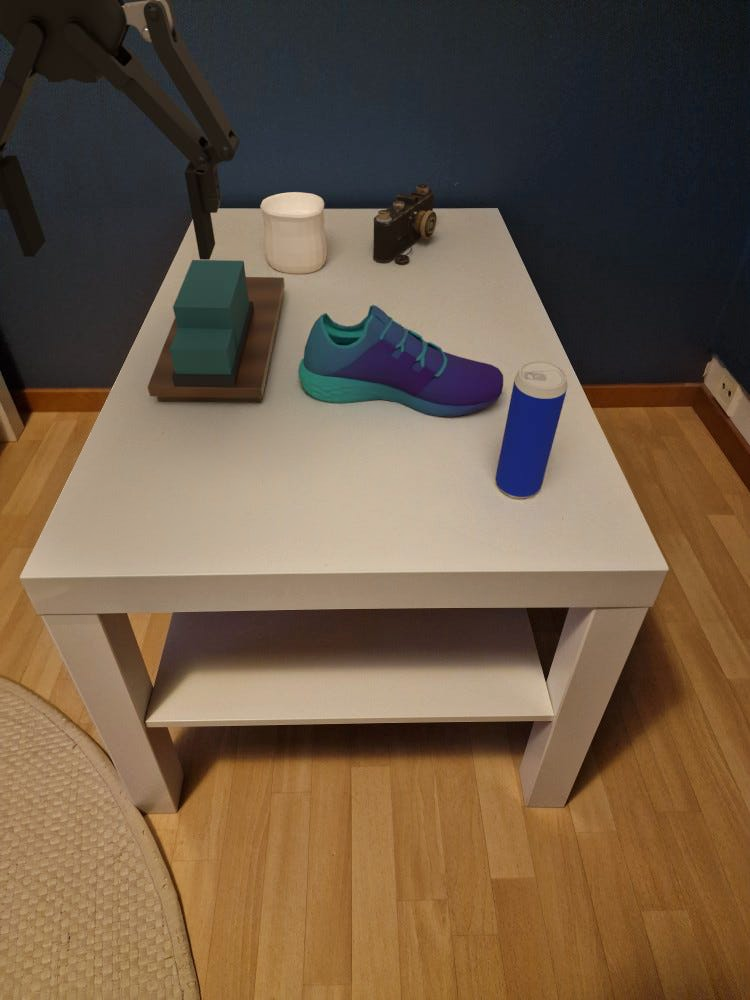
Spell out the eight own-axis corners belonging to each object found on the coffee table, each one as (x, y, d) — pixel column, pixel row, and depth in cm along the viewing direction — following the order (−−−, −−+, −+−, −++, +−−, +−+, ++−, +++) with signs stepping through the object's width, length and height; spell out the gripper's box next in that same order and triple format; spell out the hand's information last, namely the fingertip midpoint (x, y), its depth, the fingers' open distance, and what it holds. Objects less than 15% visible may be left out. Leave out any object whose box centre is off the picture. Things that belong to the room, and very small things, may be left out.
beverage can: (537, 469, 79) (564, 359, 69) (543, 501, 76) (574, 391, 65) (492, 468, 79) (513, 358, 69) (497, 500, 76) (519, 389, 65)
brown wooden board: (194, 293, 106) (191, 275, 104) (285, 295, 106) (284, 277, 104) (152, 406, 87) (147, 386, 84) (263, 407, 87) (261, 388, 84)
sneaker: (498, 425, 85) (513, 340, 76) (292, 401, 88) (284, 317, 79) (501, 377, 92) (515, 295, 83) (310, 356, 95) (305, 275, 86)
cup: (336, 269, 112) (334, 209, 105) (278, 281, 109) (272, 220, 102) (315, 244, 118) (312, 186, 111) (259, 255, 115) (253, 196, 108)
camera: (401, 270, 112) (403, 221, 107) (367, 259, 115) (367, 211, 109) (448, 232, 122) (453, 186, 116) (416, 223, 125) (418, 178, 119)
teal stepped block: (201, 310, 97) (191, 256, 91) (254, 310, 97) (247, 257, 91) (174, 386, 85) (160, 329, 79) (235, 387, 85) (225, 330, 79)
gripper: (-233, -106, 36) (-58, 270, 52) (237, -97, 37) (274, 275, 52) (-156, -118, 42) (-18, 226, 57) (255, -110, 42) (284, 231, 57)
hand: (121, 250), depth 54 cm, fingers open, 13 cm apart
